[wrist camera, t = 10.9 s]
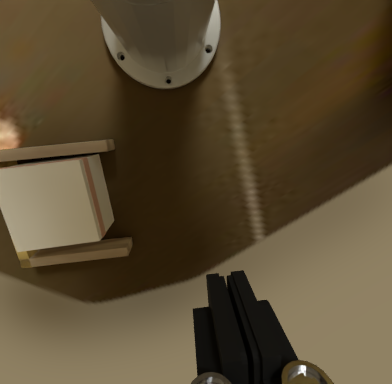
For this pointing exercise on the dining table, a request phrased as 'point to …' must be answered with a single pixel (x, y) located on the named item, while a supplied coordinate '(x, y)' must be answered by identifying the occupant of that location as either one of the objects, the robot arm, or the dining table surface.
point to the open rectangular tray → (76, 251)
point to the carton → (55, 202)
